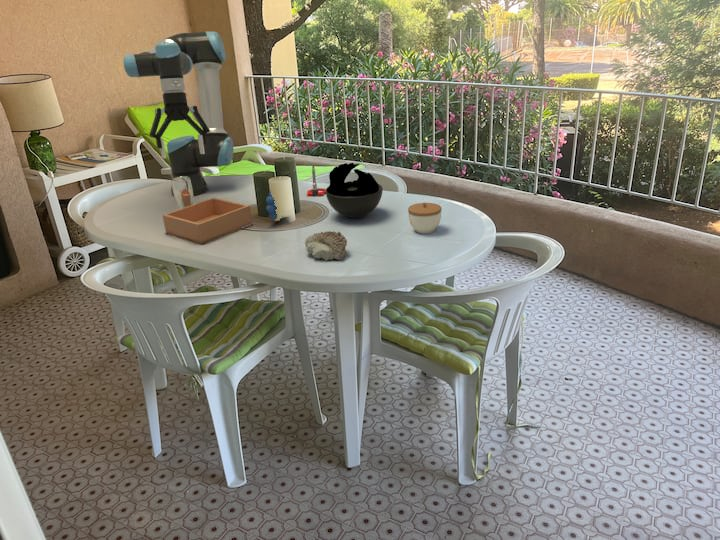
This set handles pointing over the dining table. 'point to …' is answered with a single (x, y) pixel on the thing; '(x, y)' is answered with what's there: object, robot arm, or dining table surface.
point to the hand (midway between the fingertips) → (183, 156)
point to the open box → (207, 220)
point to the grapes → (271, 207)
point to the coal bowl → (353, 192)
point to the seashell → (326, 245)
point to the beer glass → (182, 191)
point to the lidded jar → (424, 217)
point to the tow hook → (315, 186)
